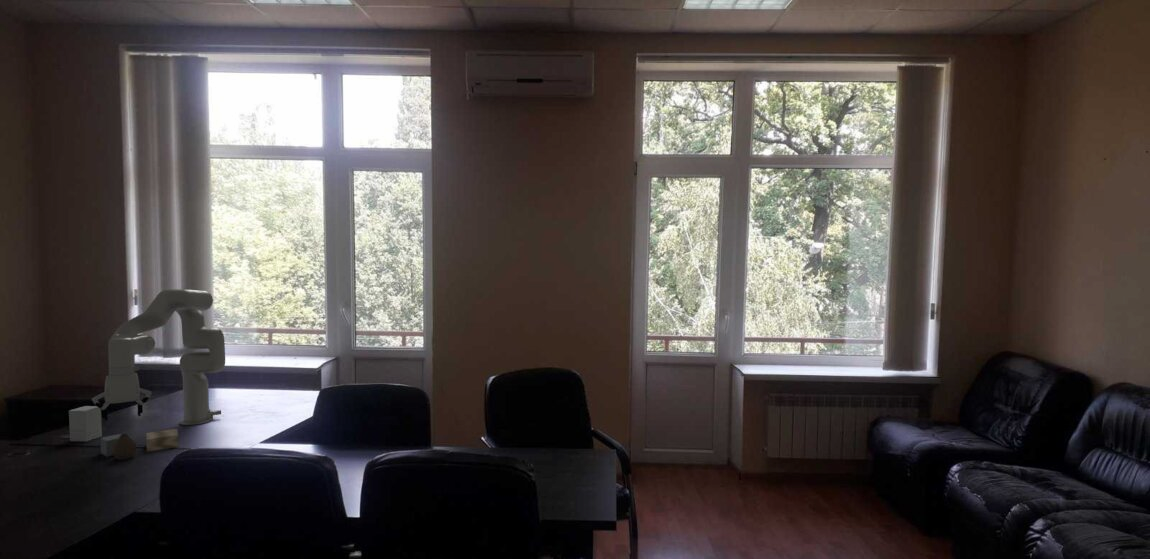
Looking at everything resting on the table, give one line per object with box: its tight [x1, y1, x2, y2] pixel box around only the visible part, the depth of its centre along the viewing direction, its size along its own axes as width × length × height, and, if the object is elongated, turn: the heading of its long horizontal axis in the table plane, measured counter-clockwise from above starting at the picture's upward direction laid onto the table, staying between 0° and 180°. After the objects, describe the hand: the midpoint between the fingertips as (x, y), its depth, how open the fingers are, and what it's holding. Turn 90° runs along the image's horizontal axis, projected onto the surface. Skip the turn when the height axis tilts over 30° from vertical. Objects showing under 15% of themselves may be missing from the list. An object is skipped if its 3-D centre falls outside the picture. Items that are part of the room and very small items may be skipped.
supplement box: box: [68, 405, 103, 442], centre depth 235 cm, size 7×7×13 cm
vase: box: [112, 433, 137, 461], centre depth 213 cm, size 7×7×9 cm
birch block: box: [145, 428, 179, 453], centre depth 227 cm, size 10×10×5 cm
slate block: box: [100, 433, 122, 457], centre depth 219 cm, size 6×6×6 cm
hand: (122, 417), depth 212 cm, fingers open, 9 cm apart
